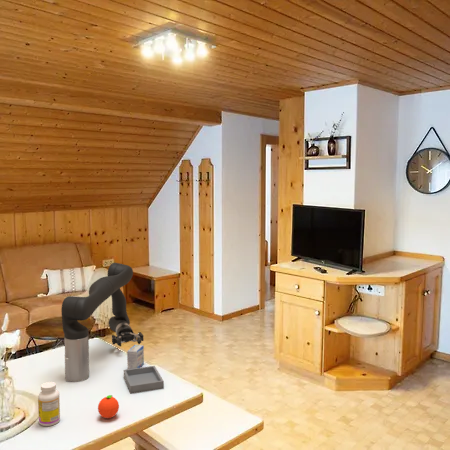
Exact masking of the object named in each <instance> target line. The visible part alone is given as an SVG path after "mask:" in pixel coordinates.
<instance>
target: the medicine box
mask: <svg viewBox="0 0 450 450" xmlns="http://www.w3.org/2000/svg"><path fill="white" fill-rule="evenodd" d="M144 347H145V346H144V344H134V345H133V346H131V347H130V348H129V349H128V350H127V351H126V356H127V357H126V358H127V359H126V360H127V363H126V364H127V369H134V368H140V367H143V366H144V364H145V361H144V360H145V352H144V351H145V350H144Z"/></svg>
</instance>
